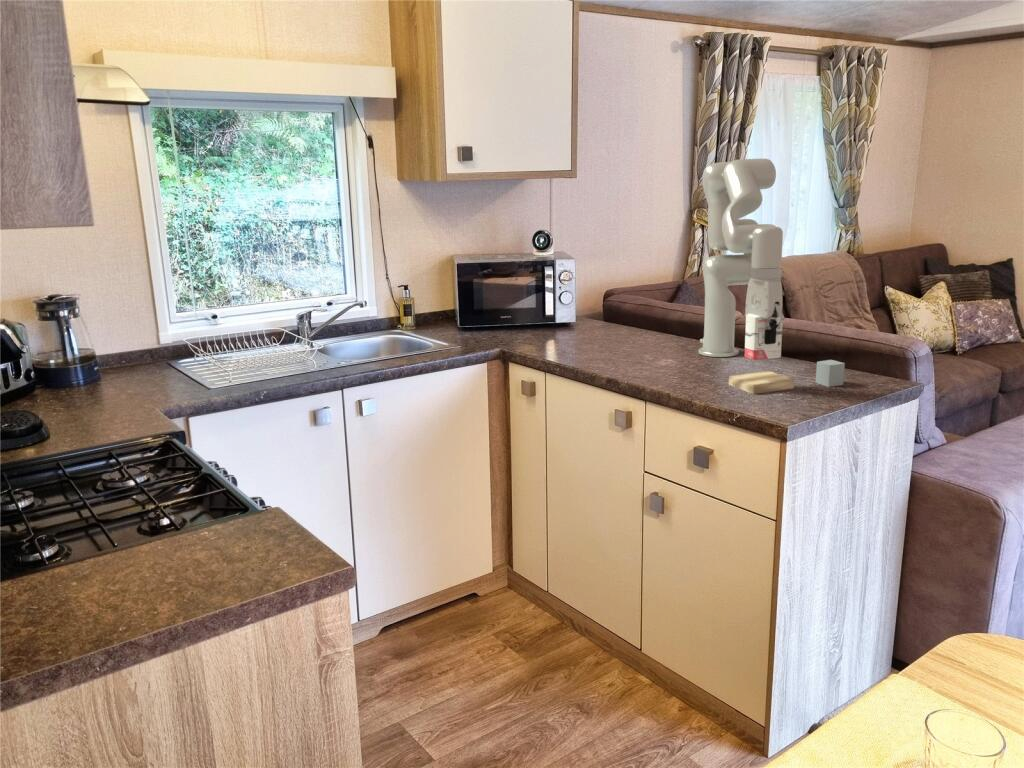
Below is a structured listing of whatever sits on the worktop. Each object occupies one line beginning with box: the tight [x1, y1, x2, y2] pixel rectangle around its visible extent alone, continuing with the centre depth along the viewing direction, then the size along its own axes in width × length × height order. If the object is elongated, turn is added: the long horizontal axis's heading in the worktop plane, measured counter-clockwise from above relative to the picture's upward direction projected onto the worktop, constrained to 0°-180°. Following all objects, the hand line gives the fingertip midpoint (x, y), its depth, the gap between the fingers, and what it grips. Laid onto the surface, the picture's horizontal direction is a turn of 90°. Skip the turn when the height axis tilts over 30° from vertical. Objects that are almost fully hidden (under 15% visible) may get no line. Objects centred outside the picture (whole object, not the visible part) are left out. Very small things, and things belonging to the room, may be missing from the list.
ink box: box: [744, 314, 784, 361], centre depth 215 cm, size 9×5×12 cm, turn 106°
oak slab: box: [728, 370, 795, 395], centre depth 218 cm, size 11×13×3 cm
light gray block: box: [815, 359, 846, 388], centre depth 218 cm, size 5×5×6 cm
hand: (763, 341), depth 215 cm, fingers closed on ink box, 5 cm apart
